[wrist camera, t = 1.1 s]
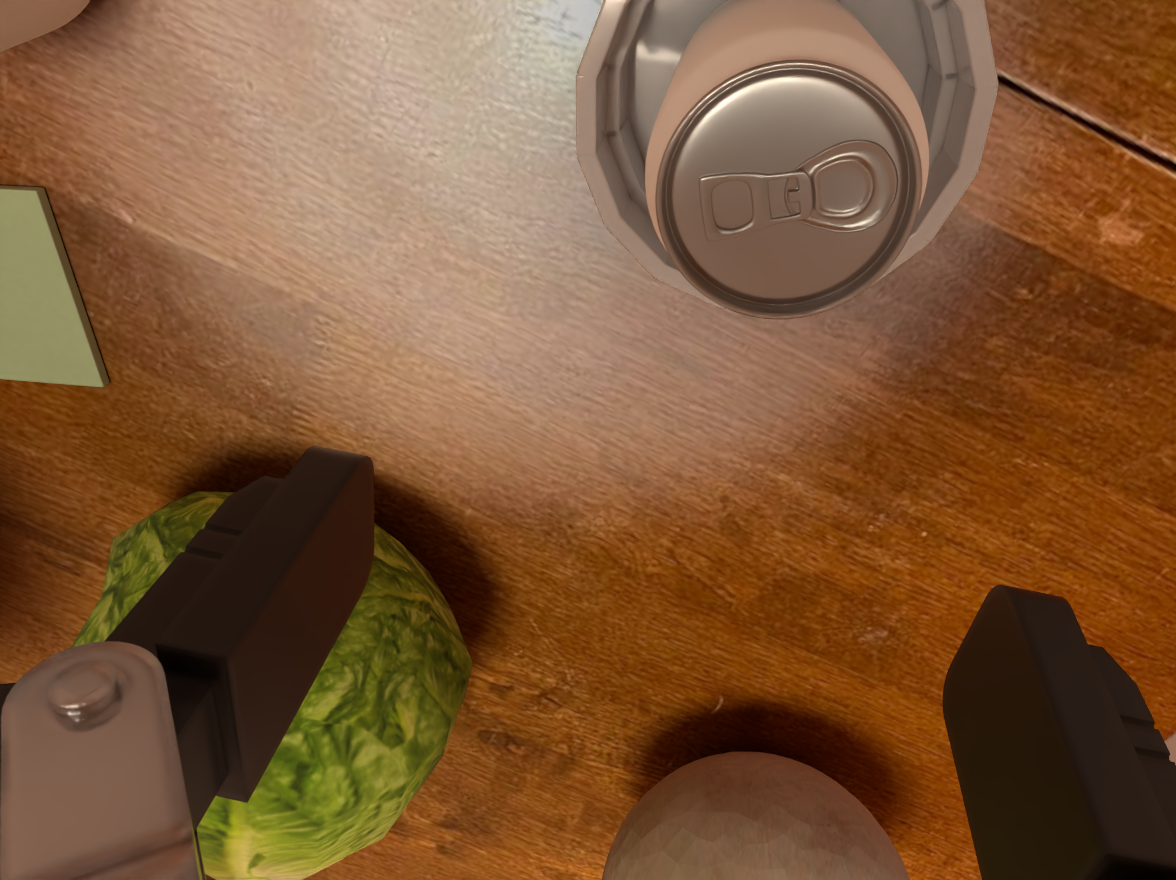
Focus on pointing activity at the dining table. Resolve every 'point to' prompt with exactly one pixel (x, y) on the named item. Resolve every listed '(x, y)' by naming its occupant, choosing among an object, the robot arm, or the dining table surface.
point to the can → (785, 159)
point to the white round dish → (653, 50)
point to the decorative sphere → (751, 826)
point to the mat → (41, 299)
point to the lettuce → (322, 708)
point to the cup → (34, 18)
